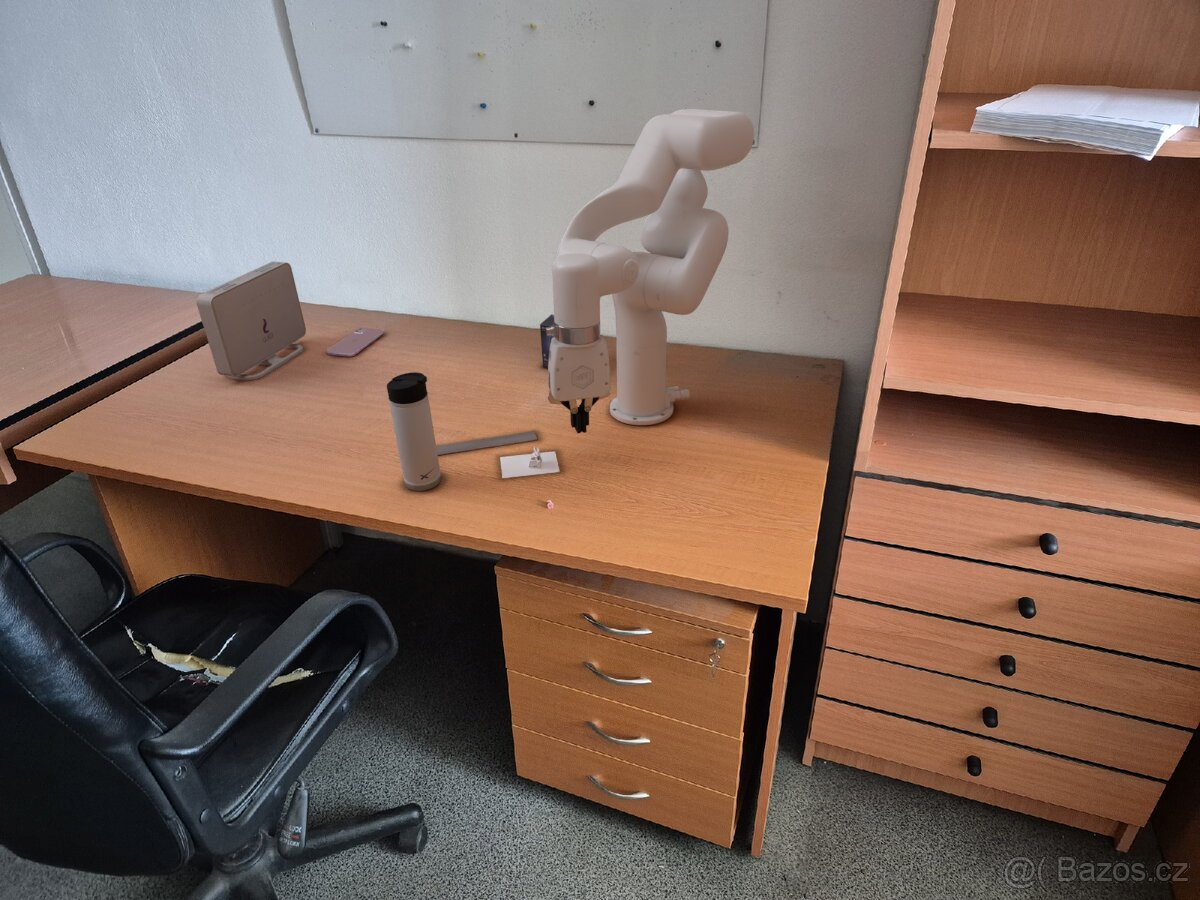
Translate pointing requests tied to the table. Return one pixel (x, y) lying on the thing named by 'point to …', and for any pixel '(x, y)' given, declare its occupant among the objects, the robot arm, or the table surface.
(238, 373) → the network device
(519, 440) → the steel ruler
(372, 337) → the mobile phone
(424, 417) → the travel mug
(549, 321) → the small box
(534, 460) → the adhesive hook
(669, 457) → the table surface
